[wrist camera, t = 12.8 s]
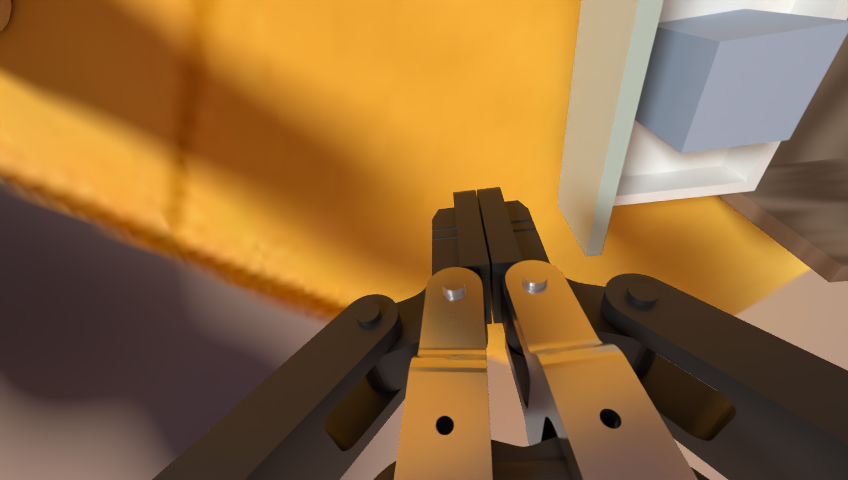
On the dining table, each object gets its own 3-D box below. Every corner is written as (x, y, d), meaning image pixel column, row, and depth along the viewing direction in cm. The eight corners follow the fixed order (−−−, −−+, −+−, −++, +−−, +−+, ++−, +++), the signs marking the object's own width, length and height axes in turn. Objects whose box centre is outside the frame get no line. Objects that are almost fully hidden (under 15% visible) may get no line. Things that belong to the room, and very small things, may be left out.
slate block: (627, 114, 22) (681, 153, 17) (647, 24, 19) (720, 41, 14) (709, 103, 21) (789, 139, 17) (744, 8, 18) (854, 20, 13)
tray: (556, 203, 27) (585, 256, 22) (598, -143, 16) (680, -200, 10) (710, 186, 26) (777, 238, 21) (882, -203, 14) (1129, -298, 9)
